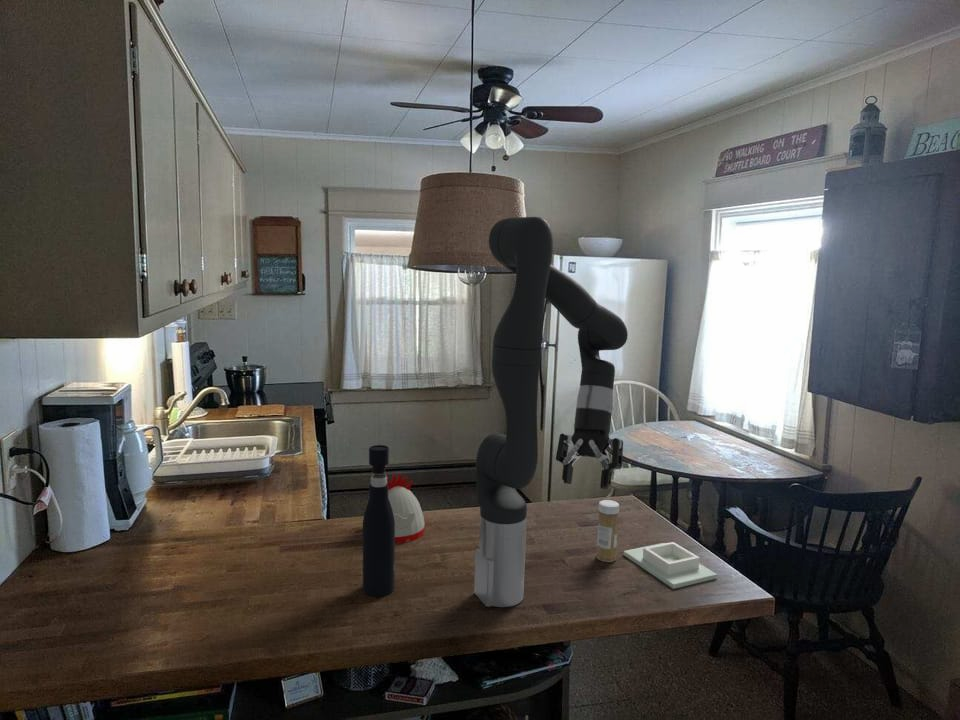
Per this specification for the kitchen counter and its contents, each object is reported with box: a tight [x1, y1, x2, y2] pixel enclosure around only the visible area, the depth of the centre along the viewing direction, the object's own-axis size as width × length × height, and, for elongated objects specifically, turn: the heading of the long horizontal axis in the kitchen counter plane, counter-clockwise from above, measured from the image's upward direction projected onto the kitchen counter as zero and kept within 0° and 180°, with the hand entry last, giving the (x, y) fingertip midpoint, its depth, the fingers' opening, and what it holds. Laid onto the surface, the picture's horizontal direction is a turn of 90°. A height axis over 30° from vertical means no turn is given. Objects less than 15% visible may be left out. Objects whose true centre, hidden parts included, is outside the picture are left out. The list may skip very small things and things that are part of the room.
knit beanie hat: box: [385, 472, 425, 544], centre depth 162 cm, size 14×14×15 cm
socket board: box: [623, 541, 718, 590], centre depth 147 cm, size 12×17×4 cm
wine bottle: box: [362, 444, 396, 597], centre depth 132 cm, size 6×6×30 cm
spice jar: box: [595, 499, 620, 563], centre depth 150 cm, size 5×5×14 cm
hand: (585, 486), depth 136 cm, fingers open, 8 cm apart
